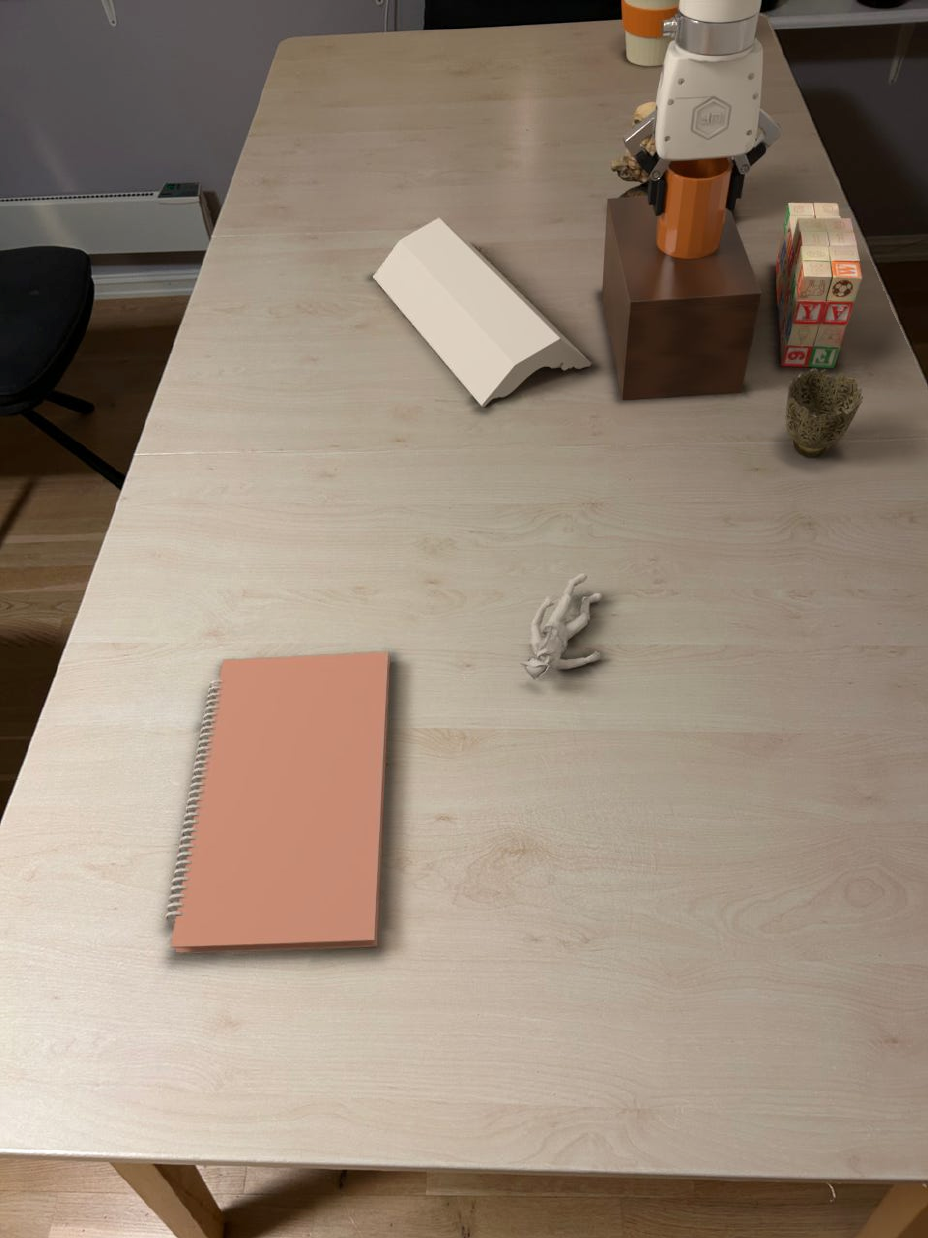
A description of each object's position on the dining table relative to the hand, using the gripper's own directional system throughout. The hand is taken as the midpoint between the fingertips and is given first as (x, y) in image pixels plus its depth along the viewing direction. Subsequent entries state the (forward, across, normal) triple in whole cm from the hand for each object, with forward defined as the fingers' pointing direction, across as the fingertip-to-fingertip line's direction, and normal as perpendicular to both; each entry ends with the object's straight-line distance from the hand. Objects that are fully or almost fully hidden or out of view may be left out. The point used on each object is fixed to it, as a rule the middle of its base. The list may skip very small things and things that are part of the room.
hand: (692, 205), depth 103 cm
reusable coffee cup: (+18, +9, +85) cm, 87 cm away
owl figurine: (+18, +4, +30) cm, 35 cm away
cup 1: (+4, 0, 0) cm, 4 cm away
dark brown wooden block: (+17, -1, 0) cm, 17 cm away
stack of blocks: (+18, +17, +3) cm, 24 cm away
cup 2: (+18, +11, -21) cm, 30 cm away
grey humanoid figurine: (+18, -18, -46) cm, 52 cm away
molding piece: (+18, -25, +7) cm, 31 cm away
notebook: (+18, -43, -61) cm, 77 cm away
